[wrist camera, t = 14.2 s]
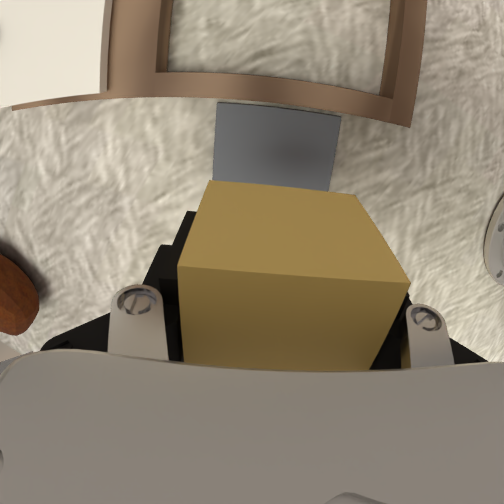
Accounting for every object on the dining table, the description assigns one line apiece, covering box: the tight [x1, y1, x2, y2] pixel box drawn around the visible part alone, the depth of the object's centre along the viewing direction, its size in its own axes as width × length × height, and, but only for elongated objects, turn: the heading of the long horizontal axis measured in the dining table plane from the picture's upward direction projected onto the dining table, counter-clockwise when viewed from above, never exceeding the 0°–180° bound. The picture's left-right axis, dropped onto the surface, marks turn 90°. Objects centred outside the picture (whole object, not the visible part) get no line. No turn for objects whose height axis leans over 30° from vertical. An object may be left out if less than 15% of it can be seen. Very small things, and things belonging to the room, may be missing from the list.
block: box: [177, 180, 411, 371], centre depth 10 cm, size 5×5×5 cm
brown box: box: [12, 0, 427, 128], centre depth 15 cm, size 27×11×2 cm, turn 85°
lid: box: [0, 0, 112, 108], centre depth 12 cm, size 12×10×4 cm
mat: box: [212, 102, 341, 192], centre depth 21 cm, size 8×8×1 cm
